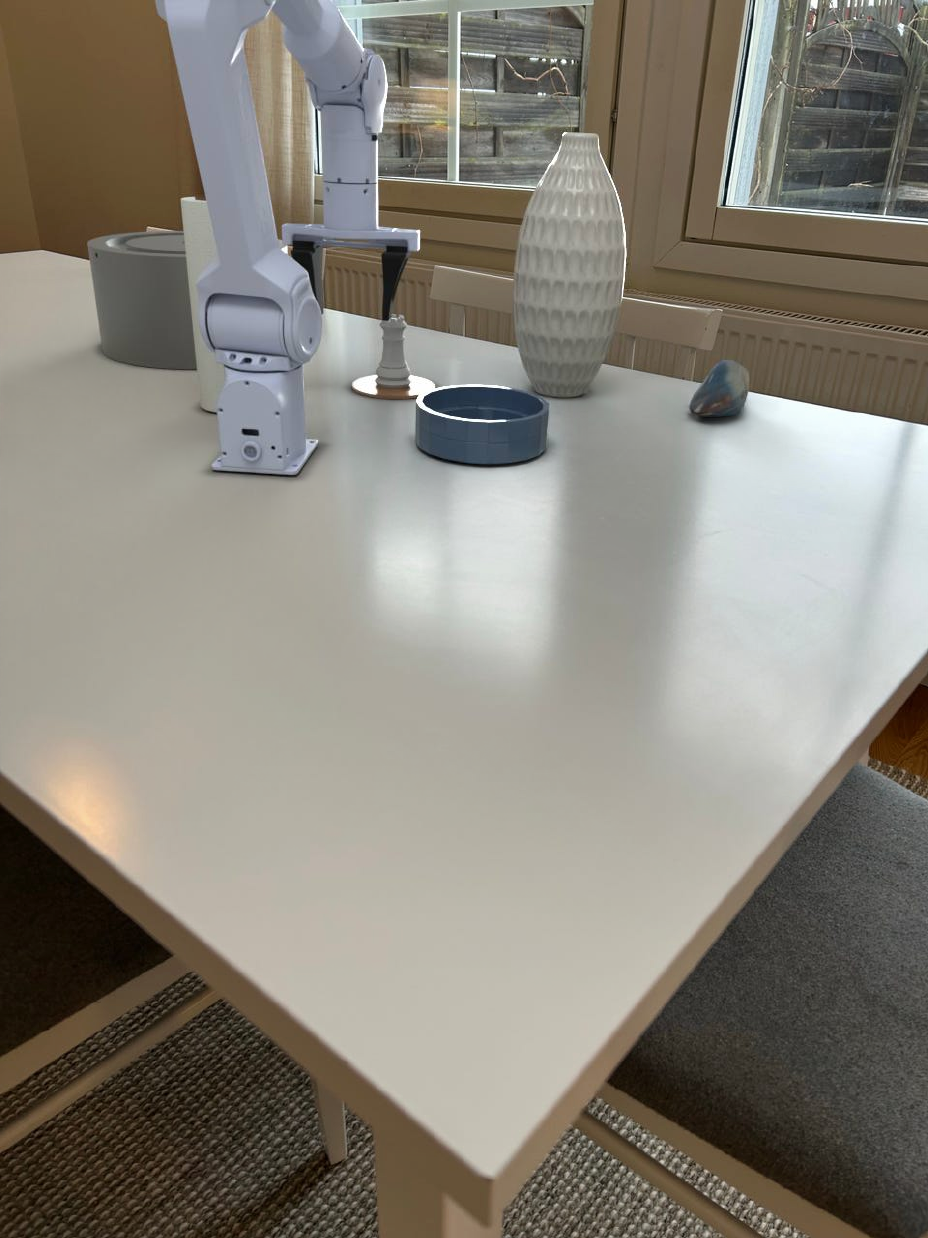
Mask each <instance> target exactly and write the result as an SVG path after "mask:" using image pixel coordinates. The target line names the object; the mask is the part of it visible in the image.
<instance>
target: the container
mask: <svg viewBox="0 0 928 1238" xmlns="http://www.w3.org/2000/svg"><path fill="white" fill-rule="evenodd" d="M86 243H87V244H86V245H87V252H88V259H89V263H90V264H89V266H90V272H91V279H92V286H93V294H94V300H95V301H94V302H95V309H96V313H97V314H96V316H97V322H98V328H99V329H98V330H99V336H100V343H101V349H102V353H103V355H105V356H106V357H107V358H109V359H111V360H114V361H117V362H119V363H123V364H128V365H133V366H139V367H145V368H155V369H164V370H165V369H167V370H197V363H196V353H195V343H194V333H193V322H192V312H191V302H190V292H189V281H188V271H187V261H186V251H185V241H184V230H159V231H157V230H155V231H137V232H125V233H117V234H116V233H115V234H109V235H104V236H99V237H94V238H91V239H89V240H88V241H87V242H86ZM278 244H279V247H280V248H281V249H282V250H283V251H284V252H285V253H286V254H287V255H289V250H288V249H289V248H288V245H285V244H283V243H282V239H280V238H278Z"/></svg>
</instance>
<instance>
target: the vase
mask: <svg viewBox="0 0 928 1238" xmlns="http://www.w3.org/2000/svg"><path fill="white" fill-rule="evenodd" d="M599 140H600V139H599V135H598V134H597V133H593V132H591V133H590V132H571V131H569V132H567V131H566V132H563V134H562V137H561V142H560V146H559V149H558V151H557V152H556V154H555V156H554V157H553V159H552V161H551V163H549V165H548V167H547V168H546V170H545V171H544V173H543V175H542V176H541V178H540V180H539V181H538V183H537V185H536V187H535V189H534V191H533V193H532V195H531V196H530V200H529V201H528V204H527V207H526V210H525V212H524V214H523V219H522V222H521V226H520V229H519V233H518V238H517V242H516V247H515V257H514V267H513V280H512V317H513V329H514V330H513V331H514V335H515V340H516V345H517V350H518V353H519V357H520V360H521V363H522V367H523V369H524V372H525V374H526V376H527V378H528V379H529V383H530V385H531V386H532V388H533V390H534V391H535V392H536V393H537V394H539V395H542V396H545V397H551V398H563V399H564V398H566V399H567V398H576V397H579V396H582V395H583V394H584V393H585V392H586V390H587V389H588V388H589V386H590V385H591V383H592V382H593V380H594V379H595V377H596V376H597V375H598V373H599V372H600V370H601V368H602V365H603V363H604V361H605V359H606V357H607V355H608V352H609V350H610V347H611V345H612V341H613V340H614V336H615V332H616V328H617V324H618V322H619V321H618V320H619V317H620V312H621V306H622V300H623V294H624V285H625V284H624V283H625V274H626V273H625V272H626V258H627V248H626V244H627V243H626V230H625V223H624V216H623V212H622V206H621V202H620V199H619V195H618V193H617V190H616V187H615V185H614V182H613V180H612V177H611V174H610V173H609V170H608V168H607V166H606V164H605V161H604V159H603V157H602V154H601V151H600V145H599V143H600V142H599Z"/></svg>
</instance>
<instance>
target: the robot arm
mask: <svg viewBox="0 0 928 1238" xmlns="http://www.w3.org/2000/svg"><path fill="white" fill-rule="evenodd" d="M154 3H155V7H156V11H157V15H158V16H159V17H160V18H161V19H162V20H164V21H165V22H166V24H167V29H168V34H169V39H170V44H171V49H172V52H173V57H174V62H175V66H176V71H177V76H178V79H179V83H180V88H181V93H182V97H183V101H184V106H185V107H184V108H185V111H186V115H187V120H188V124H189V128H190V134H191V138H192V143H193V147H194V151H195V156H196V161H197V165H198V169H199V174H200V178H201V182H202V187H203V192H204V195H205V197H206V201H207V206H208V210H209V215H210V219H211V224H212V228H213V233H214V237H215V242H216V246H217V251H218V255H219V256H217V257H216V258H215V259H214V260H213V261H212V262H211V263H210V264H208V265H207V266H206V268H205V269H204V270H203V271H202V272H201V274H200V276H199V278H198V280H197V282H196V288H197V292H198V301H199V310H198V324H199V329H200V333H201V336H202V338H203V340H204V342H205V344H206V346H207V347H208V349H210V350H211V351H212V352H214V353H215V358H216V363H222V364H223V367H224V379H225V385H224V387H223V389H222V391H221V392H220V394H219V396H218V400H217V412H216V417H217V418H216V419H217V420H216V421H217V430H218V440H219V441H218V442H219V453H220V455H219V456H218V457H217V458H216V459H215V460H214V461H213V462H212V463H211V466H210V467H211V469H212V470H214V471H222V472H237V473H238V472H239V473H254V474H269V475H271V474H272V475H282V476H283V475H284V476H287V475H288V476H295V475H297V474H298V473H299V472H300V471H301V469H303V466H305V463H306V462H307V461H308V459H309V458H310V456H311V455H312V454H313V452H314V451H315V449H316V448H317V447H318V445H319V440H318V439H317V438H307V424H306V423H307V422H306V402H305V401H306V399H305V397H306V396H305V379H304V378H305V376H304V375H305V374H304V364H307V363H308V362H310V361H311V359H312V358H313V357H314V355H315V354H316V353H317V351H318V349H319V347H320V343H321V340H322V335H323V334H322V333H323V316H322V315H323V314H324V291H323V257H324V255H323V254H324V246H325V247H342V248H343V247H344V248H361V249H363V248H364V249H379V250H385V251H383V252H382V253H381V255H380V256H381V268H382V269H381V270H382V271H381V273H382V302H381V303H382V305H381V318H382V320H381V322H382V321H389V320H390V319H391V318H392V314H393V307H394V302H395V298H396V294H397V290H398V287H399V284H400V281H401V278H402V275H403V273H404V271H405V268H406V265H407V264H408V261H409V259H410V257H411V254H412V252H418V251H420V249H421V230H420V229H407V228H398V227H397V228H396V227H385V226H379V134H381V133H382V132H383V127H384V121H383V120H384V109H385V107H386V102H387V94H388V81H387V72H386V66H385V63H384V60H383V58H382V57H381V55H379V54H376V53H375V51H374V50H373V49H371V48H364V47H362V45H361V43H360V41H359V40H358V39H357V37H356V35H355V33H354V32H353V30H352V28H351V27H350V26H349V24H348V22H347V21H346V20H345V17H344V16H343V15H342V13H341V11H340V9H339V8H338V6H337V5H336V4H335V2H334V1H333V0H154ZM270 12H272V13H273V14H274V15H275V16H276V17H277V18H278V19H279V21H280V22H281V23H282V26H281V27H282V28H281V30H282V31H281V33H282V41H283V44H284V47H285V48H286V49H287V51H288V52H289V53H290V55H291V57H293V59H294V60H295V61H296V63H297V64H298V65H299V67H300V68H301V69H302V71H303V72H304V79H305V83H306V84H307V87H308V90H309V96H310V100H311V103H312V105H313V108H314V109H315V110H317V111H318V112H320V137H321V139H320V140H321V171H322V172H321V174H322V207H323V208H322V210H323V211H322V212H323V223H284V224H282V225H281V240H282V243H283V244H285V245H287V246H292V249H291V250H290V255H289V254H288V255H287V254H286V253H285V252H284V251H283V250H282V249H281V248H280V247H279V244H278V239H279V238H278V233H277V226H276V222H275V216H274V211H273V205H272V199H271V194H270V187H269V182H268V177H267V171H266V165H265V160H264V154H263V147H262V143H261V136H260V131H259V125H258V120H257V119H258V118H257V114H256V109H255V102H254V97H253V96H254V95H253V92H252V91H253V90H252V86H251V85H252V84H251V79H250V74H249V69H248V63H247V58H246V52H245V46H244V45H245V38H246V36H247V33H248V31H249V28H250V29H251V27H253V26H255V25H257V24H259V23H260V22H261V23H262V21H264V20H266V19H267V17H268V15H269V14H270ZM334 239H340V240H334ZM350 240H367V241H350Z"/></svg>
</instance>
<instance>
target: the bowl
mask: <svg viewBox="0 0 928 1238" xmlns="http://www.w3.org/2000/svg"><path fill="white" fill-rule="evenodd" d="M549 415H550V403H549V402H548V401H547V400H546V399H545V398H544V397H542V396H539V395H538V394H535V393H533V392H530V391H527V390H522V389H518V388H514V387H513V388H512V387H506V386H500V385H488V384H486V385H485V384H459V385H449V386H441V387H437V388H435V389H433V390H429V391H426V392H425V393H423V394H421V395H419V396H418V398H416V400H415V423H414V424H415V426H414V427H415V429H414V431H415V432H414V434H415V435H414V437H415V438H414V441H415V442H416V445H417V446H418V448H419V449H421V450H422V451H424V452H425V453H427V454H429V455H432V456H435V457H438V458H440V459H443V460H448V461H452V462H455V463H461V464H462V463H463V464H471V465H484V466H485V465H505V464H512V463H513V464H514V463H518V462H522V461H527V460H530V459H532V458H535V457H538V456H540V455H541V454H542V453H544V452H545V451H546V450H547V441H548V428H549V418H550V417H549Z"/></svg>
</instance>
